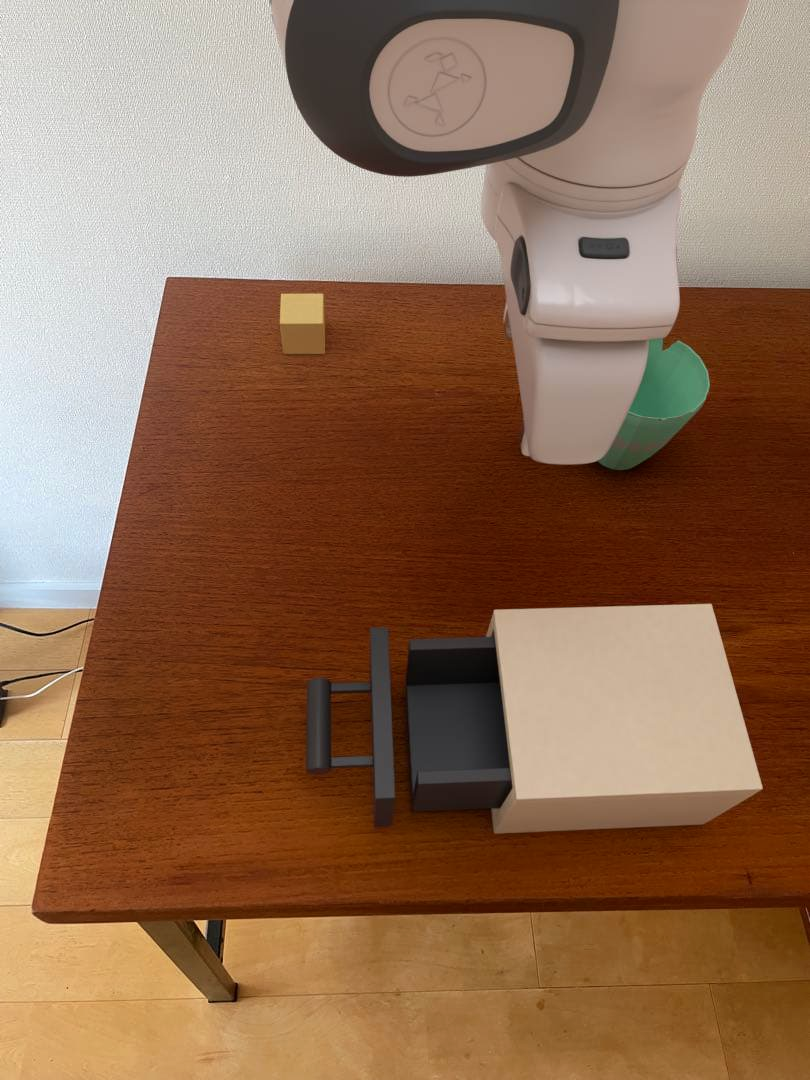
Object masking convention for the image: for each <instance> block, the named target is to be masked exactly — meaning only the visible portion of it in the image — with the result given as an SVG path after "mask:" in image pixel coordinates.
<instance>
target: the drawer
mask: <svg viewBox="0 0 810 1080" xmlns="http://www.w3.org/2000/svg"><path fill="white" fill-rule="evenodd" d="M406 661H407V662H406V669H405V670H406V671H405V679H404V683H405V685H404V686H405V701H406V702H405V703H406V718H407V720H406V721H407V740H408V757H409V775H410V777H409V779H410V795H411V811H412V812H435V811H436V812H439V811H460V810H461V811H462V810H485V809H488V810H489V809H491V808H501V806H502V804H503V803H504V801H505V800H506V798H507V796H508V795H509V793H510V791H511V790H512V788H513V787H512V779H511V770H510V762H509V753H508V745H507V736H506V728H505V719H504V711H503V702H502V694H501V686H500V677H499V669H498V660H497V652H496V643H495V637H486V636H475V637H474V636H473V637H472V636H471V637H469V636H468V637H442V638H441V637H439V638H435V637H434V638H411V639H409V643H408V652H407V660H406ZM391 685H392V684H391V661H390V639H389V627H388V626H377V627H374V626H373V627H369V681H357V682H356V681H355V682H353V681H351V682H331V680H330V679H328V678H325V677H313V678H310V679H308V680H307V682H306V722H305V723H306V725H305V726H306V727H305V729H306V730H305V732H306V733H305V772H306V774H309V775H318V776H319V775H326V774H329V773H331V771H332V770H335V769H336V770H337V769H358V768H359V769H360V768H364V769H365V768H372V799H373V800H372V802H373V805H372V806H373V827H374V828H381V827H382V828H383V827H385V828H386V827H392V826H393V819H394V812H395V805H396V804H395V803H396V779H395V778H396V777H395V752H394V734H393V733H394V732H393V729H394V728H393V708H392V707H393V706H392V687H391ZM342 694H344V695H346V694H369V695H370V696H369V698H370V731H371V732H370V733H371V734H370V735H371V736H370V737H371V755H353V756H332V695H342Z"/></svg>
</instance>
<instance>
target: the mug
mask: <svg viewBox="0 0 810 1080" xmlns="http://www.w3.org/2000/svg"><path fill="white" fill-rule="evenodd" d="M664 340H665V338H660V339H650V340H649V348H648V357H647V363H646V367H645V371H644V375H643V378H642V381H641V383H640V386H639V389H638V391H637V393H636V396H635V398H634V400H633V402H632V405H631V407H630V409H629V411H628V413H627V415H626V418H625V420H624V422H623V424H622V426H621V428H620V430H619V432H618V434H617V436H616V438H615V440H614V442H613V444H612V445H611V447H610V449H609V450H608V452H607V453H606V455H605V456H604V457H603V458H601V459H600V460H598V461H597V462H598V463H599V464H600V465H601V466H603V467H605V468H608V469H611V470H616V471H626V470H630V469H632V468H634V467H637V466H639V464H641V463H643V462H645V461H646V460H648V459H649V458H651V457H652V456H653V455H655V454H656V453H657V452H658V451H659V450H661V449H662V448H664V447H665V446H666V445H667V444H668V443H669V442H670V441H671V440H672V438H674V437H675V436H676V435H677V433H678V432H679V431H680V430H681V429H682V428H683V427H684V426H685V425H686V424H688V422H689V421H690V420H691V419H692V418H693V417H694V416H695V415H696V414H697V413H698V412H699V411H700V410H701V408H702V407H703V406H704V404H705V402H706V400H707V397H708V395H709V391H710V387H711V382H710V372H709V371H708V368H707V366H706V365H705V363H704V361H703V359H702V357H700V356H699V355H698V354H697V352H695V351H694V350H693V349H692V347H690V345H688V344H686V343H684V342H682V341H681V340H678V339H677V340H675V341H674V342H673V343H672V344H671V345H670V346H669V347H667V348H665V349H664V342H665V341H664Z"/></svg>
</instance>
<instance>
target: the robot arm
mask: <svg viewBox="0 0 810 1080" xmlns="http://www.w3.org/2000/svg"><path fill="white" fill-rule="evenodd" d="M268 1H269V5H270V9H271V12H272V13H271V20H272V23H273V27H274V30H275V35H276V38H277V42H278V46H279V50H280V54H281V58H282V61H283V64H284V68H285V72H286V75H287V80H288V85H289V88H290V92H291V93H292V94H291V95H292V97H293V100H294V103H295V105H296V107H297V109H298V111H299V113H300V115H301V117H302V119H303V120H304V121H305V123H306V125H307V127H309V129H310V130H311V132H312V133H313V134H314V135H315V136H316V138H317V139H318V140H319V141H320V142H321V143H322V144H323V145H324V146H325V147H326V148H328V149H329V150H330V151H331V152H332V153H334V154H335V155H337V156H338V157H340V159H342V160H344V161H346V162H348V163H349V164H351V165H354V166H355V167H357V168H360V169H362V170H364V171H365V170H366V171H368V172H371V173H375V174H379V175H382V176H383V175H385V176H389V177H390V176H391V177H400V178H401V177H404V178H405V177H406V178H409V177H410V178H412V177H413V178H414V177H423V176H431V175H439V174H445V173H450V172H454V171H460V170H461V171H462V170H466V169H471V168H476V167H482V166H485V171H484V177H483V185H482V191H481V197H480V215H481V216H480V217H481V220H482V222H483V224H484V226H485V228H486V230H487V232H488V234H489V235H490V236H491V238H492V239H493V240H494V242H496V246H497V250H498V252H499V258H500V265H501V271H502V272H501V273H502V279H503V285H504V291H505V307H504V311H503V317H502V321H503V329H504V335H505V337H506V338H507V339H508V340H512V346H513V347H512V348H513V355H514V361H515V367H516V376H517V382H518V389H519V397H520V401H521V408H522V409H521V410H522V414H523V418H522V421H521V425H520V429H519V432H518V433H519V441H520V442H519V443H520V449H521V453H522V455H523V456H525V457H530V458H531V460H533V461H535V462H537V463H542V464H547V465H563V466H564V465H565V466H566V465H585V464H592V463H596V462H598V460H600V459H601V458H603V457H604V456H605V455H606V453H607V452H608V450H609V449H610V447H611V445H612V444H613V442H614V440H615V438H616V436H617V434H618V432H619V430H620V428H621V426H622V424H623V422H624V420H625V418H626V415H627V413H628V411H629V409H630V407H631V405H632V402H633V400H634V398H635V396H636V393H637V391H638V389H639V386H640V383H641V381H642V378H643V375H644V371H645V367H646V363H647V357H648V348H649V340H650V339H660V338H664V339H665V338H667V336H669V334H670V332H671V331H672V329H673V327H674V325H675V322H676V320H677V317H678V314H679V312H680V311H679V310H680V302H681V297H680V296H681V295H680V284H679V270H678V248H677V233H678V232H677V231H678V219H679V213H680V207H681V201H682V189H681V187H679V186H680V183H681V181H682V178H683V175H684V174H685V170H686V169H687V165H688V163H689V160H690V158H691V155H692V152H693V149H694V145H695V142H696V139H697V132H698V123H699V122H698V121H699V111H700V106H701V101H702V99H703V96H704V93H705V91H706V89H707V87H708V85H709V83H710V81H711V80H712V79H713V77H714V75H715V74H716V73H717V71H718V70H719V69H720V68H721V66H722V65H723V63H724V62H725V60H726V58H727V57H728V54H729V53H730V51H731V49H732V46H733V44H734V41H735V39H736V36H737V33H738V32H739V29H740V26H741V23H742V21H743V18H744V16H745V14H746V10H747V8H748V5H749V3H750V0H268Z"/></svg>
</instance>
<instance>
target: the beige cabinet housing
mask: <svg viewBox="0 0 810 1080" xmlns="http://www.w3.org/2000/svg"><path fill="white" fill-rule="evenodd" d="M485 637H495V643H496V652H497V660H498V669H499V677H500V686H501V694H502V702H503V711H504V719H505V728H506V736H507V745H508V753H509V762H510V770H511V779H512V787H513V788H512V790H511V791H510V793H509V795H508V796H507V798H506V800H505V801H504V803H503V804H502V806H501V808H490V810H491V818H492V819H491V820H492V829H493V834H495V835H497V834H517V833H518V834H519V833H540V832H541V833H542V832H563V831H583V830H585V831H586V830H607V829H608V830H609V829H630V828H631V829H632V828H633V829H634V828H652V827H677V826H678V827H679V826H696V825H697V826H698V825H705V824H706V823H708V822H710V821H712V820H714V819H716V818H717V817H719V816H720V815H722V814H723V813H725V812H727V811H729V810H731V809H732V808H733V807H735V806H737V805H739V804H740V803H742V802H744V801H746V800H747V799H748V798H750V797H752V796H754V795H755V794H757V793H759V792H760V791H762V790H763V789H764V788H763V784H762V781H761V777H760V773H759V771H758V766H757V762H756V759H755V756H754V751H753V748H752V745H751V741H750V737H749V733H748V730H747V727H746V723H745V719H744V716H743V715H744V714H743V712H742V708H741V705H740V702H739V698H738V694H737V691H736V687H735V684H734V679H733V676H732V672H731V669H730V665H729V662H728V658H727V654H726V650H725V647H724V643H723V640H722V636H721V633H720V629H719V625H718V622H717V618H716V614H715V612H714V608H713V604H712V603H696V604H695V603H694V604H693V603H691V604H686V603H685V604H653V605H651V604H650V605H614V606H581V607H579V606H577V607H544V608H543V607H542V608H541V607H540V608H509V609H508V608H507V609H506V608H505V609H504V608H503V609H494V610H493V612H492V616H491V619H490V622H489V625H488V629H487V632H486V635H485Z"/></svg>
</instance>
